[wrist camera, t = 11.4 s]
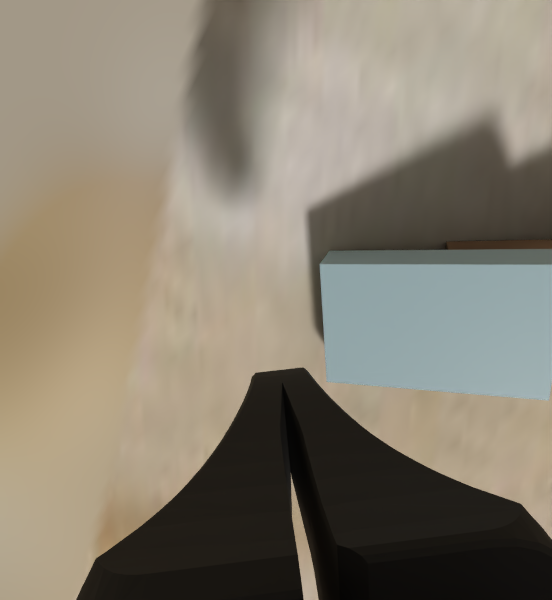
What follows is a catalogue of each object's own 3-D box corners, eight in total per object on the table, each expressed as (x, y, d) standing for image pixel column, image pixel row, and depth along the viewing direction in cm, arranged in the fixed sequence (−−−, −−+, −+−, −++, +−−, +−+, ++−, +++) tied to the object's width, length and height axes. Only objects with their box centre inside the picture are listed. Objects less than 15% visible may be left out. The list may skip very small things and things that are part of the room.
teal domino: (329, 250, 16) (554, 249, 14) (335, 360, 18) (538, 373, 16) (319, 264, 15) (568, 264, 13) (326, 381, 16) (548, 400, 14)
